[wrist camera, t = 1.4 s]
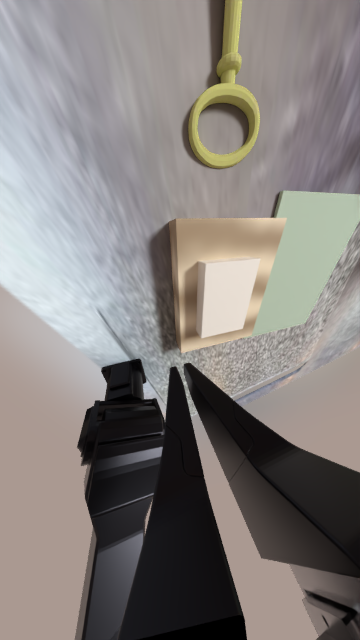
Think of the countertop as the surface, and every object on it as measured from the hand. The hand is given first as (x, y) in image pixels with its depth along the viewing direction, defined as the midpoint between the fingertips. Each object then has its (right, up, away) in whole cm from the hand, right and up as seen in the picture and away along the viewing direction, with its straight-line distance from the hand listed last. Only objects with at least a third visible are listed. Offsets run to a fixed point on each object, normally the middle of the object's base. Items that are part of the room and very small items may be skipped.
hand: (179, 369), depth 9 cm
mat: (+22, +11, +17) cm, 30 cm away
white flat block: (+6, +7, +10) cm, 13 cm away
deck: (+6, +8, +13) cm, 16 cm away
